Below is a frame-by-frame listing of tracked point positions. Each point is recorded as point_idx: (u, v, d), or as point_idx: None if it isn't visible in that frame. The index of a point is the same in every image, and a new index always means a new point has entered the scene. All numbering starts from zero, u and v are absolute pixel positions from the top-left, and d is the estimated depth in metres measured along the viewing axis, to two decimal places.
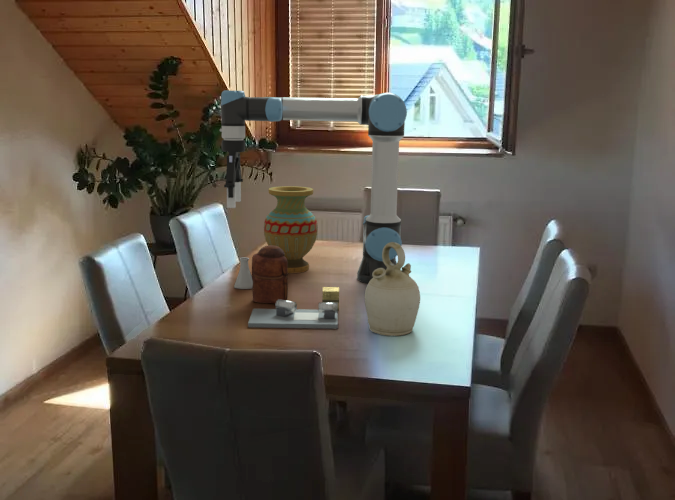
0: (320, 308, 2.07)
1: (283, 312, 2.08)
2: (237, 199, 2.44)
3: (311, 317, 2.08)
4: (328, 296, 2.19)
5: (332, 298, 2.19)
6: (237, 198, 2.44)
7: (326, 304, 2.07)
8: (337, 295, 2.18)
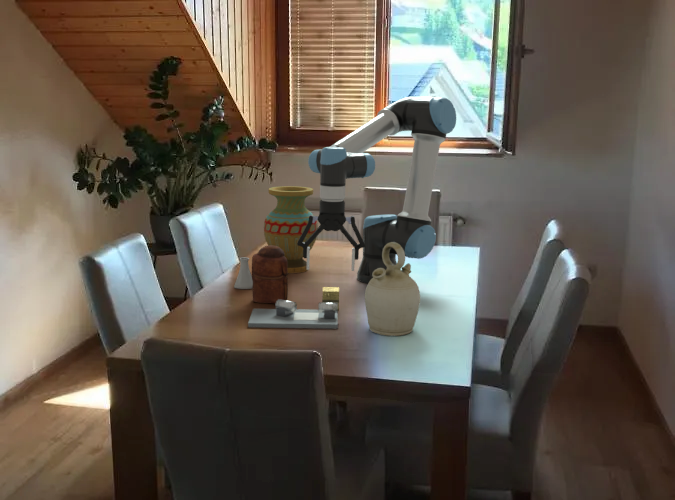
0: (320, 308, 2.07)
1: (283, 312, 2.08)
2: None
3: (311, 317, 2.08)
4: (328, 296, 2.19)
5: (332, 298, 2.19)
6: None
7: (326, 304, 2.07)
8: (337, 295, 2.18)
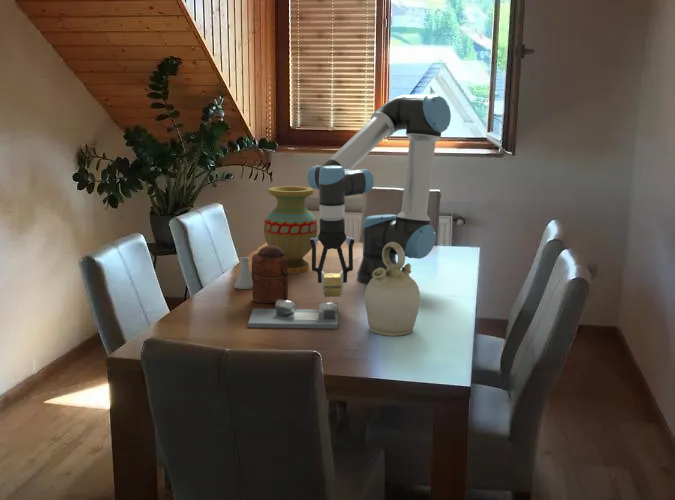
0: (320, 308, 2.07)
1: (283, 312, 2.08)
2: None
3: (311, 317, 2.08)
4: (330, 282, 2.18)
5: (334, 284, 2.18)
6: None
7: (326, 304, 2.07)
8: (339, 281, 2.18)
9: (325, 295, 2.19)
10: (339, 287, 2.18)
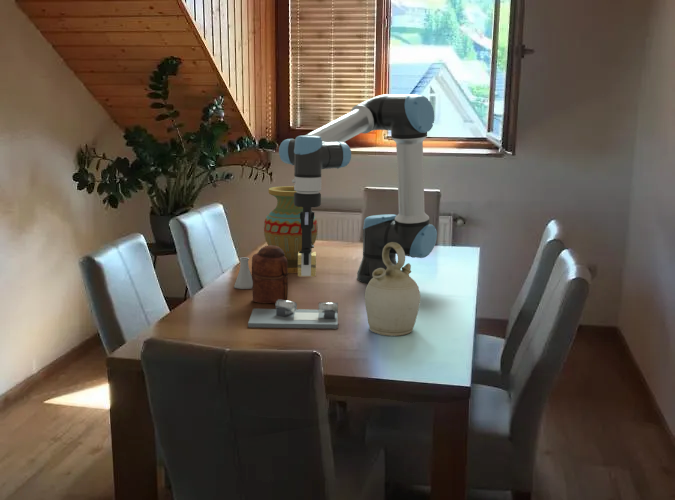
0: (320, 308, 2.07)
1: (283, 312, 2.08)
2: None
3: (311, 317, 2.08)
4: None
5: None
6: None
7: (326, 304, 2.07)
8: None
9: (315, 274, 2.04)
10: None
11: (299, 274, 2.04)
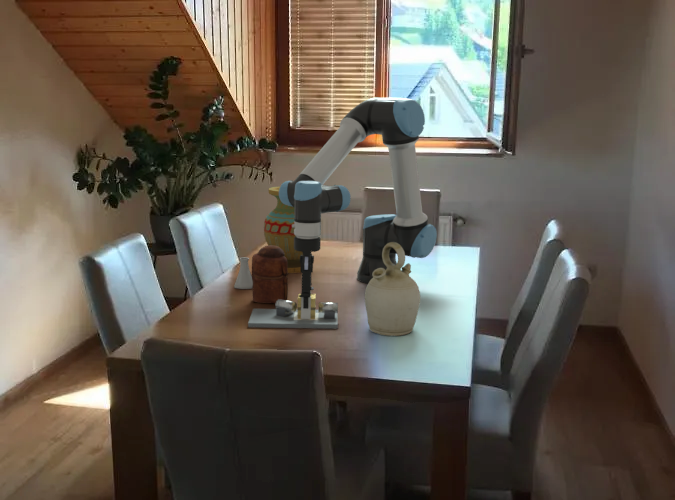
0: (320, 308, 2.07)
1: (283, 312, 2.08)
2: None
3: None
4: None
5: (315, 303, 2.08)
6: None
7: (326, 304, 2.07)
8: None
9: None
10: (315, 304, 2.10)
11: (299, 316, 2.06)
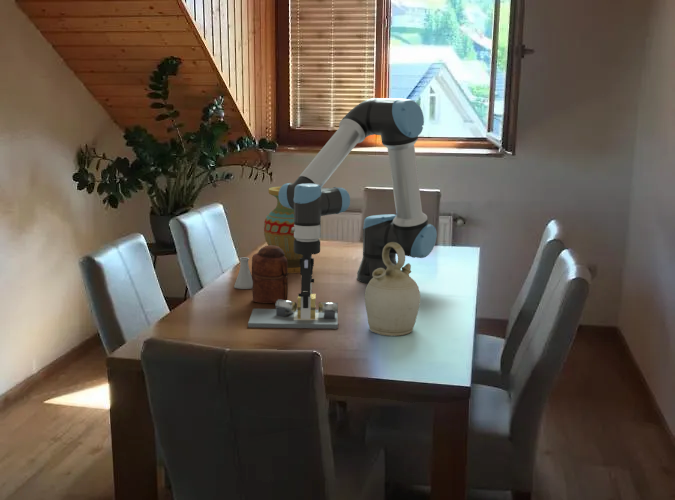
0: (320, 308, 2.07)
1: (283, 312, 2.08)
2: None
3: None
4: None
5: (315, 303, 2.08)
6: None
7: (326, 304, 2.07)
8: None
9: None
10: (315, 304, 2.10)
11: (299, 316, 2.06)
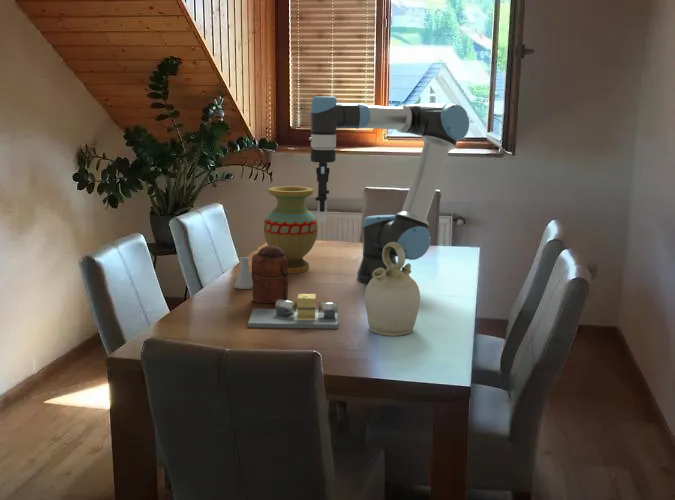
0: (320, 308, 2.07)
1: (283, 312, 2.08)
2: None
3: None
4: None
5: (315, 303, 2.08)
6: None
7: (326, 304, 2.07)
8: None
9: None
10: (315, 304, 2.10)
11: (299, 316, 2.06)
